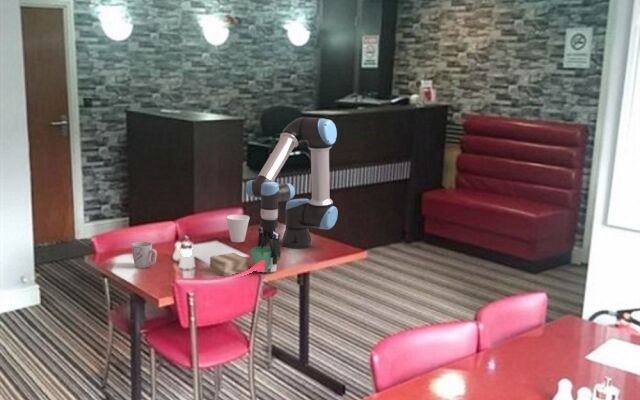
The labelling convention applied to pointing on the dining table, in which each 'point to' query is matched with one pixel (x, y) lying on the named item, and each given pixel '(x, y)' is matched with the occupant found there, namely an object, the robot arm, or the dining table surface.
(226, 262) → the beech block
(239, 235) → the cup
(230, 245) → the dining table surface
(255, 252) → the mug
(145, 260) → the mug
